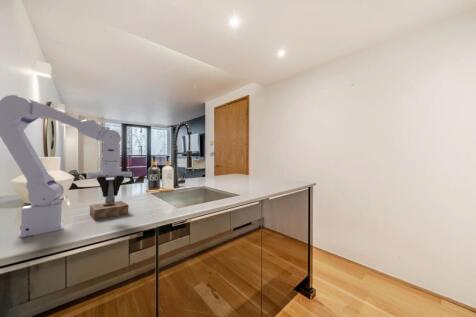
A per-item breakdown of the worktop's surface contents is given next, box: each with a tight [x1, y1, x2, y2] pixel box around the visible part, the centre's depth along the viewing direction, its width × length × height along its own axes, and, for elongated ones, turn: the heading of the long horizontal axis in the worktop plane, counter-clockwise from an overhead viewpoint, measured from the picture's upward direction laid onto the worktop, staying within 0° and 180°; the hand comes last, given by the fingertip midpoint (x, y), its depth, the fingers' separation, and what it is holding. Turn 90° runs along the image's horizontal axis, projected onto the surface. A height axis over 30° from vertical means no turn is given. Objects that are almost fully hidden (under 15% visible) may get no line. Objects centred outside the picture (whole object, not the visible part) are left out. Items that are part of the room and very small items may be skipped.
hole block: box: [89, 200, 129, 221], centre depth 80 cm, size 12×10×4 cm
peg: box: [104, 178, 116, 204], centre depth 72 cm, size 3×3×9 cm
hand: (110, 196), depth 72 cm, fingers closed on peg, 3 cm apart
